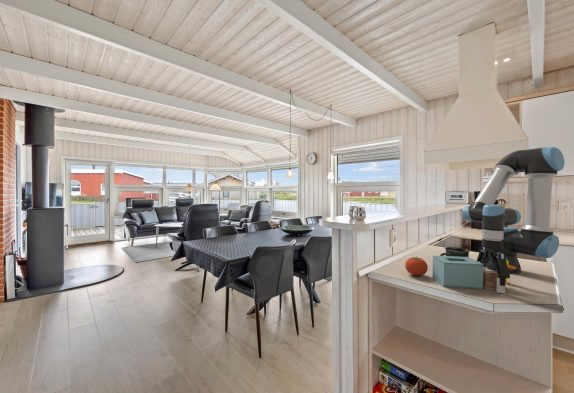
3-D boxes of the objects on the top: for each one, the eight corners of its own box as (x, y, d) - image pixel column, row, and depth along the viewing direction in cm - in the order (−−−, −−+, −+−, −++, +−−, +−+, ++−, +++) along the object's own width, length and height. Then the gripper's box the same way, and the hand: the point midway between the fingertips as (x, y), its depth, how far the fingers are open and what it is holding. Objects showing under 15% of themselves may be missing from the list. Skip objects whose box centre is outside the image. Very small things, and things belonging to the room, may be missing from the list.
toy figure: (517, 285, 116) (518, 259, 116) (512, 286, 115) (513, 260, 115) (501, 280, 123) (502, 256, 122) (496, 281, 121) (496, 256, 121)
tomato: (404, 271, 136) (404, 252, 136) (425, 273, 133) (425, 254, 132) (406, 277, 126) (406, 257, 126) (429, 280, 123) (429, 259, 123)
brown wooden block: (496, 286, 115) (496, 271, 115) (500, 289, 112) (501, 273, 112) (481, 285, 116) (482, 270, 116) (485, 288, 113) (486, 272, 113)
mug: (474, 275, 131) (475, 251, 130) (446, 275, 130) (447, 251, 130) (459, 268, 142) (460, 246, 141) (433, 268, 141) (434, 246, 141)
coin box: (467, 279, 124) (468, 257, 124) (482, 289, 112) (483, 264, 112) (432, 277, 126) (432, 255, 126) (443, 286, 115) (444, 262, 114)
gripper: (468, 234, 126) (466, 277, 127) (501, 244, 102) (500, 297, 103) (484, 234, 125) (483, 277, 126) (522, 245, 101) (520, 299, 102)
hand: (490, 286), depth 114 cm, fingers open, 12 cm apart
